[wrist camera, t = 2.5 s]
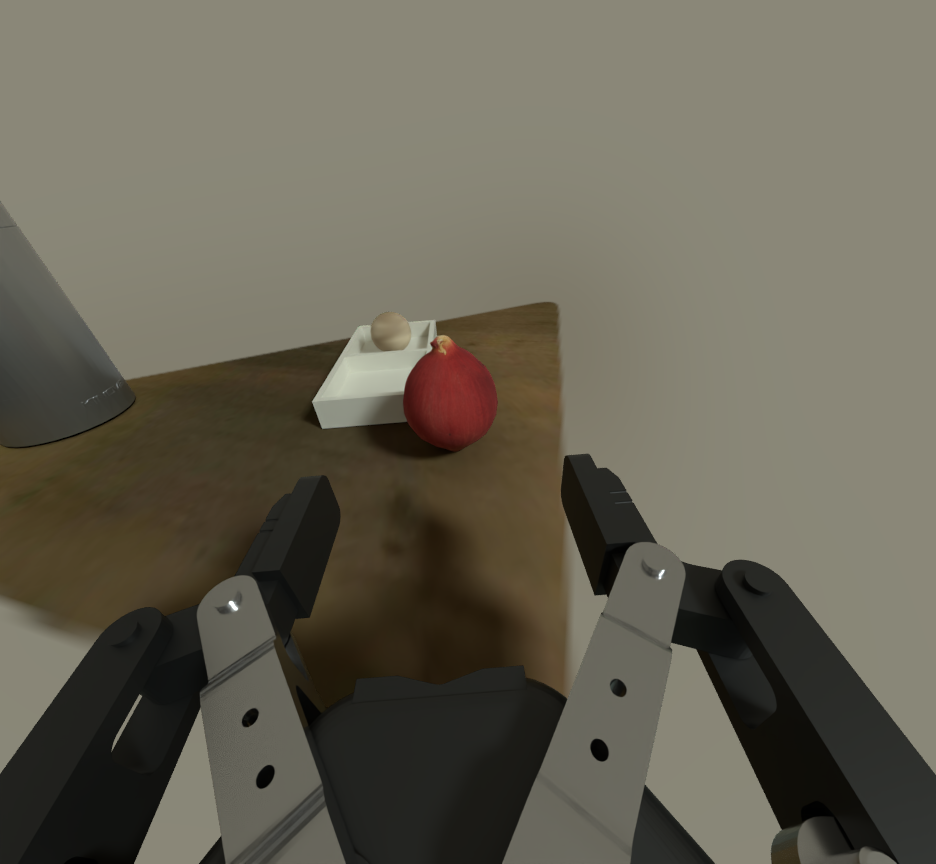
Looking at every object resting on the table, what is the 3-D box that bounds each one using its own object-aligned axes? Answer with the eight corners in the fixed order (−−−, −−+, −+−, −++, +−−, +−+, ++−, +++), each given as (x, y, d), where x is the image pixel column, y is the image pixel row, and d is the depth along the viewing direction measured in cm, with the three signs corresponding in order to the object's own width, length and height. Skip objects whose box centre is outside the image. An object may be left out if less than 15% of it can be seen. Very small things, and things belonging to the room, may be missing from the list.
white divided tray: (322, 428, 27) (312, 401, 26) (363, 346, 41) (358, 326, 39) (432, 419, 27) (428, 392, 26) (437, 340, 41) (435, 319, 39)
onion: (431, 420, 27) (414, 316, 23) (505, 427, 26) (504, 317, 21) (399, 470, 23) (371, 352, 18) (487, 482, 21) (481, 358, 17)
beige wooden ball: (372, 361, 35) (362, 321, 33) (378, 346, 39) (370, 308, 36) (412, 358, 35) (405, 317, 33) (415, 342, 39) (409, 305, 36)
